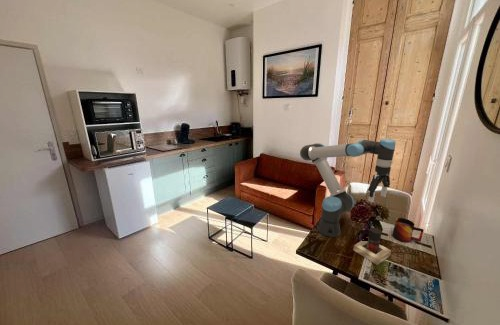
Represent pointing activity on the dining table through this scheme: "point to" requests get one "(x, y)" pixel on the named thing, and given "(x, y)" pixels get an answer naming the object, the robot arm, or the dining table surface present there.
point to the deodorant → (374, 240)
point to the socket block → (374, 258)
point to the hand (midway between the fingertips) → (376, 198)
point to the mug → (405, 230)
